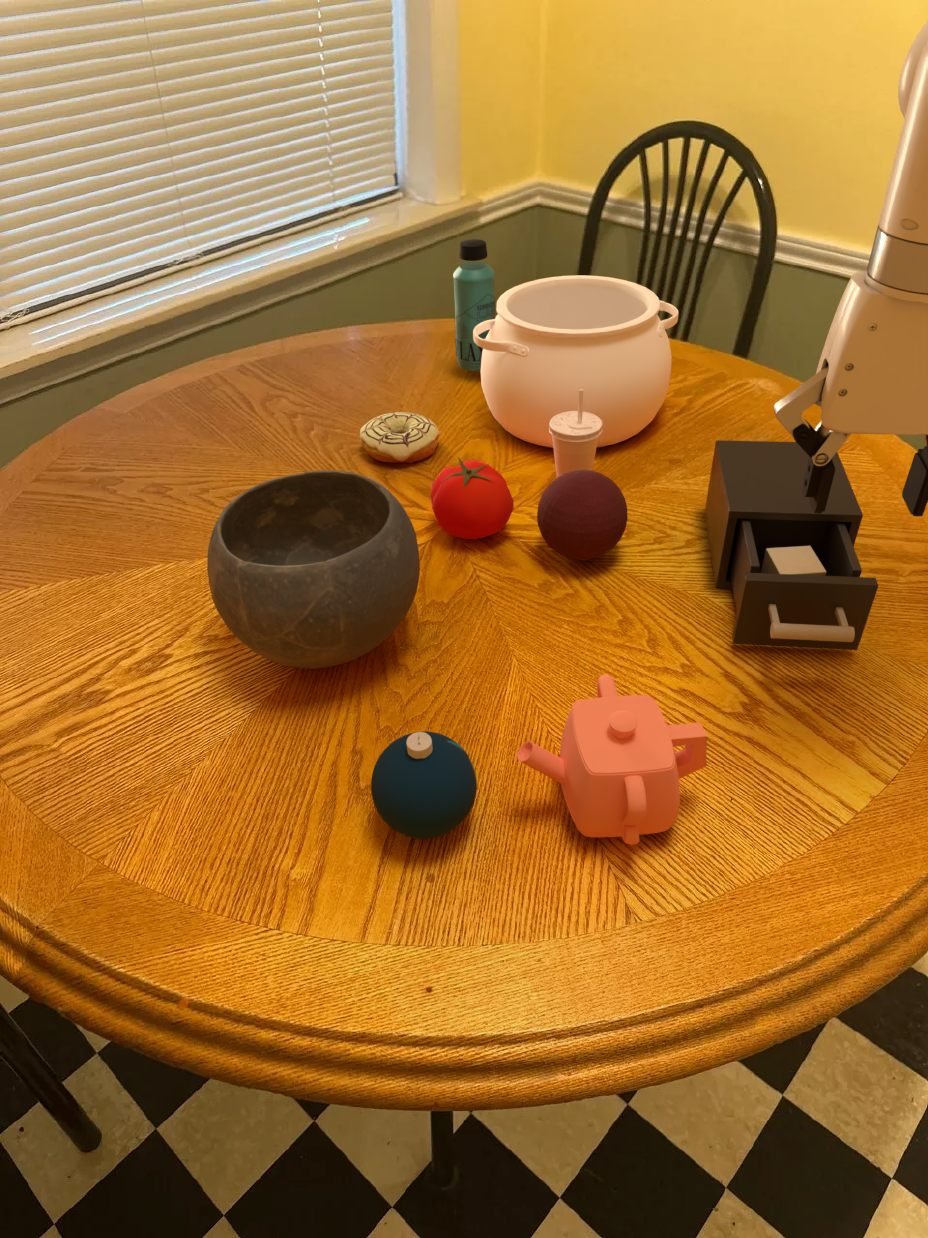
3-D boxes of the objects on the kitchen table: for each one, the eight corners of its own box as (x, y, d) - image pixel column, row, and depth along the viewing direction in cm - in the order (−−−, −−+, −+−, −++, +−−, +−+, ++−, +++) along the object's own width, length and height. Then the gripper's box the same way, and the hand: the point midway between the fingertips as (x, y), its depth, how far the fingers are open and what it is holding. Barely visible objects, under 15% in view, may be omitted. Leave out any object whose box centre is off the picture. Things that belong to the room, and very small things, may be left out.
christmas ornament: (483, 855, 68) (478, 773, 62) (377, 865, 68) (361, 783, 61) (474, 773, 74) (469, 691, 68) (377, 782, 74) (363, 700, 68)
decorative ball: (533, 529, 103) (534, 455, 96) (617, 525, 103) (623, 451, 96) (540, 580, 95) (541, 503, 89) (630, 576, 95) (638, 498, 89)
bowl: (413, 565, 98) (401, 447, 89) (439, 688, 83) (428, 562, 73) (233, 590, 96) (201, 472, 87) (226, 721, 81) (186, 595, 71)
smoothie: (578, 511, 105) (583, 405, 96) (537, 494, 109) (538, 390, 100) (608, 489, 109) (616, 385, 100) (568, 473, 112) (571, 371, 103)
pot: (502, 474, 113) (500, 353, 102) (456, 391, 133) (450, 283, 122) (704, 441, 117) (722, 322, 107) (630, 365, 137) (639, 259, 127)
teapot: (512, 806, 72) (510, 727, 65) (601, 728, 78) (607, 648, 72) (626, 890, 65) (636, 810, 59) (713, 797, 71) (730, 716, 65)
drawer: (867, 680, 80) (890, 615, 74) (737, 673, 81) (751, 608, 76) (830, 566, 93) (847, 504, 88) (719, 562, 95) (730, 501, 89)
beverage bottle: (448, 375, 138) (440, 244, 125) (472, 360, 142) (466, 232, 129) (482, 384, 134) (478, 250, 122) (505, 368, 139) (503, 238, 126)
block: (801, 580, 90) (810, 545, 87) (816, 608, 86) (826, 571, 83) (758, 583, 90) (765, 548, 87) (771, 610, 86) (780, 574, 83)
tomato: (456, 500, 109) (452, 441, 103) (529, 520, 104) (529, 459, 99) (416, 538, 102) (410, 477, 97) (492, 561, 98) (490, 498, 93)
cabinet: (840, 593, 91) (863, 515, 85) (715, 588, 93) (729, 510, 86) (814, 516, 102) (833, 442, 96) (704, 513, 104) (715, 439, 98)
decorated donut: (409, 476, 114) (407, 450, 111) (347, 456, 119) (343, 431, 116) (453, 442, 120) (452, 417, 118) (392, 424, 125) (390, 400, 123)
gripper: (1060, 240, 55) (968, 482, 67) (782, 242, 58) (739, 476, 69) (1112, 280, 50) (1002, 537, 61) (800, 280, 52) (750, 529, 63)
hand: (863, 503), depth 65 cm, fingers open, 6 cm apart
